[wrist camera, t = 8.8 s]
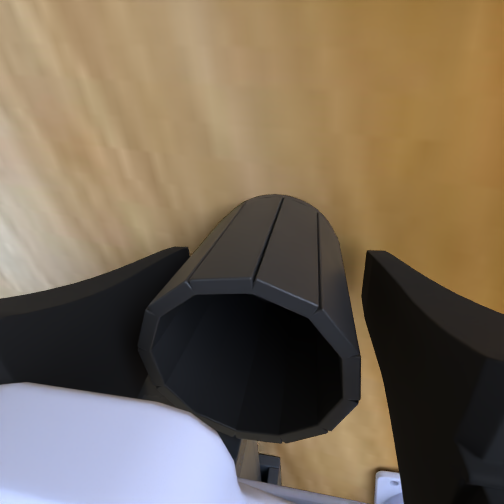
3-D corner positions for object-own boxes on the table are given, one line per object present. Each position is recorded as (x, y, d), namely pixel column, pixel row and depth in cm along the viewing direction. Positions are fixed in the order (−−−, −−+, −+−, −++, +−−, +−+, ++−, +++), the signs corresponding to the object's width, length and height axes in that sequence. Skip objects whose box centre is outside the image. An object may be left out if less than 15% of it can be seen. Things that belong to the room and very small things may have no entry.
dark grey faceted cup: (336, 186, 11) (362, 273, 5) (340, 302, 13) (360, 453, 7) (205, 200, 12) (106, 283, 6) (229, 303, 14) (173, 431, 8)
